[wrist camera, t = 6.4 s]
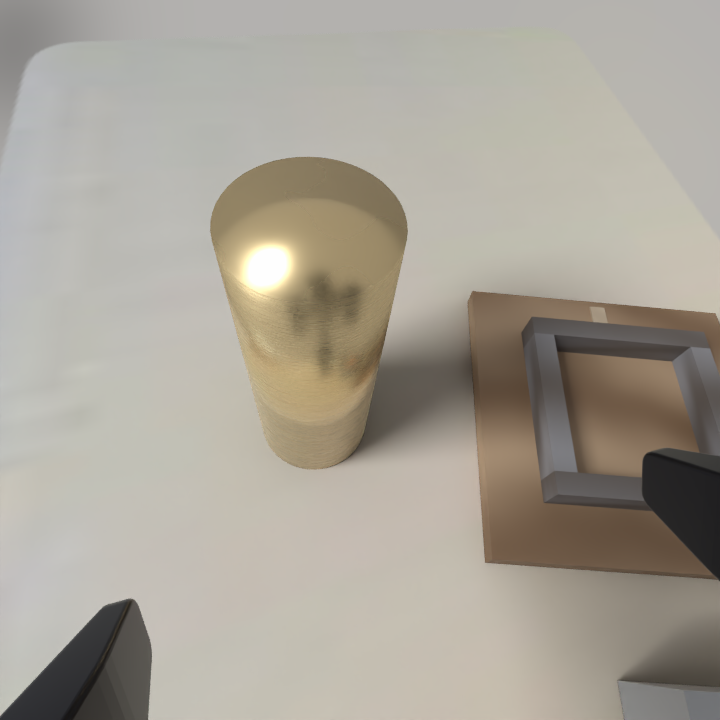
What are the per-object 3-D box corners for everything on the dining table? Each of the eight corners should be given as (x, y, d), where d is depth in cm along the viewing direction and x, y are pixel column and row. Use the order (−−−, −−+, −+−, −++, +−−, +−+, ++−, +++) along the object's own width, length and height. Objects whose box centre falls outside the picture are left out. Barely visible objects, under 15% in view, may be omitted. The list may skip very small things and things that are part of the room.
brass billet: (362, 473, 22) (406, 309, 11) (255, 464, 22) (189, 290, 11) (367, 378, 25) (408, 166, 14) (270, 370, 25) (231, 148, 14)
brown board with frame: (797, 585, 21) (851, 579, 19) (485, 562, 21) (504, 554, 19) (703, 323, 28) (735, 297, 26) (467, 301, 28) (480, 273, 26)
